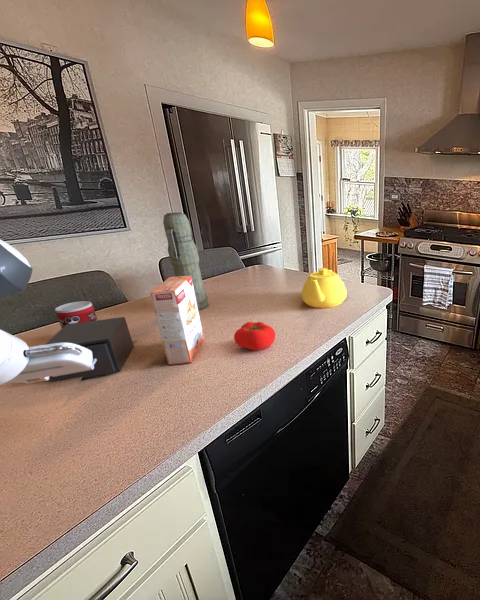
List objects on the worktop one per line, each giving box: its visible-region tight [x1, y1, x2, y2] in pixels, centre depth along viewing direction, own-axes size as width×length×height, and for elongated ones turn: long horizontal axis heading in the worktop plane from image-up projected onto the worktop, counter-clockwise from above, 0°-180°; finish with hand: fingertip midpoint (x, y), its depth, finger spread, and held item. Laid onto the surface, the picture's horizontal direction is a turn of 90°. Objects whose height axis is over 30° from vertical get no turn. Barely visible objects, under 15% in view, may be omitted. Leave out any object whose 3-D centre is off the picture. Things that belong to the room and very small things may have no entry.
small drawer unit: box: [44, 316, 135, 380], centre depth 85 cm, size 15×13×10 cm
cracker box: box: [149, 276, 205, 366], centre depth 90 cm, size 14×6×21 cm, turn 17°
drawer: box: [50, 342, 116, 383], centre depth 82 cm, size 18×11×8 cm, turn 26°
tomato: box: [233, 321, 276, 351], centre depth 96 cm, size 10×11×6 cm
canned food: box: [54, 300, 98, 329], centre depth 98 cm, size 8×8×11 cm
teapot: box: [301, 267, 348, 309], centre depth 129 cm, size 25×18×14 cm
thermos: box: [162, 212, 209, 311], centre depth 118 cm, size 9×12×35 cm
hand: (39, 378), depth 63 cm, fingers closed
